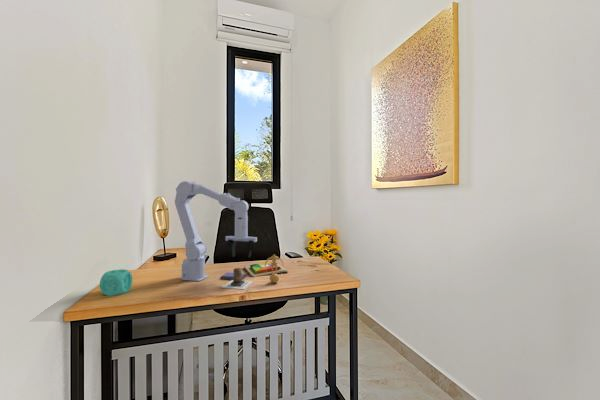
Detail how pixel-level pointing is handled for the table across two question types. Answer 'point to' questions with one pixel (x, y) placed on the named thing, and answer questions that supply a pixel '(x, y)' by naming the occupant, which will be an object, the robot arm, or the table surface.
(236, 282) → the stamp
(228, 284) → the card sheet
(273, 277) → the figurine
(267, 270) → the wooden puzzle
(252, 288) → the table surface
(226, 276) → the ink pad
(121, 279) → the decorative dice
